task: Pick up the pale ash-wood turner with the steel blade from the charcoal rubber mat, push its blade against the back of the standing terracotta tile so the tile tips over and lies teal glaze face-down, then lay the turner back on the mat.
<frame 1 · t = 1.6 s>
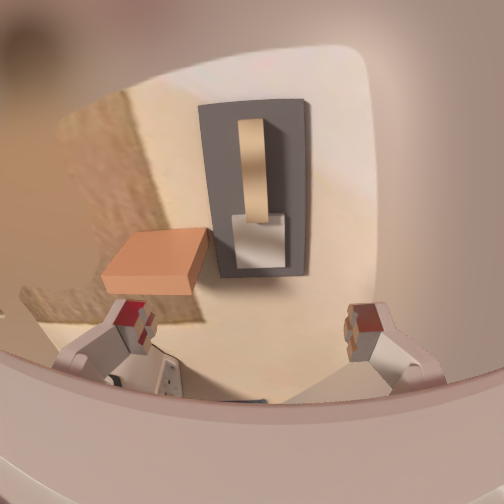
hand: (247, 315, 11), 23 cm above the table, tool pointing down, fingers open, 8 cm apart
tile: (170, 238, 36), on the table
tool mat: (257, 195, 33), on the table
turner: (257, 205, 33), point 1 cm above the table, touching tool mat
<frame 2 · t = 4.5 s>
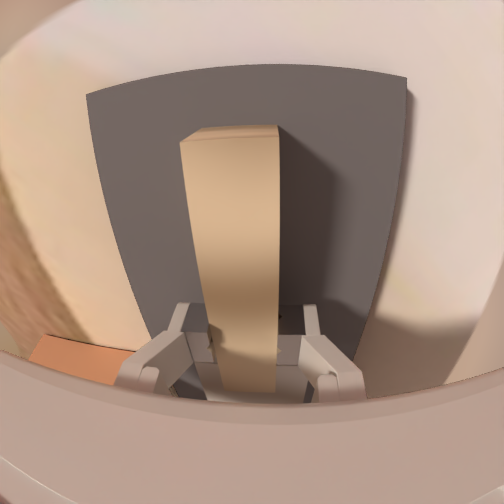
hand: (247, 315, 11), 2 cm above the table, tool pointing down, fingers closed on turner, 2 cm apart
tile: (96, 354, 17), on the table
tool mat: (252, 319, 14), on the table
turner: (252, 341, 14), point 1 cm above the table, touching gripper, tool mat
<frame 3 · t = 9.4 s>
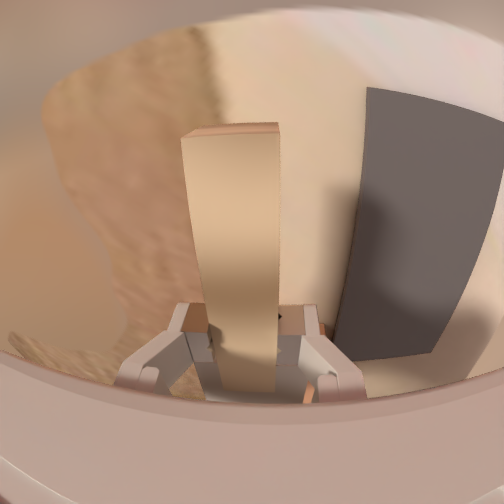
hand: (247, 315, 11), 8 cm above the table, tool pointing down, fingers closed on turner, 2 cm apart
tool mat: (419, 258, 18), on the table
turner: (251, 340, 14), point 6 cm above the table, touching gripper
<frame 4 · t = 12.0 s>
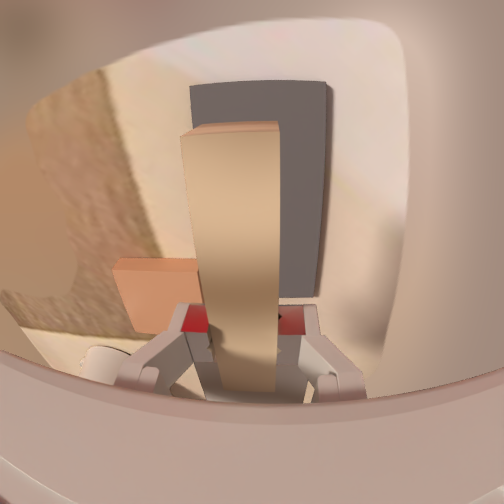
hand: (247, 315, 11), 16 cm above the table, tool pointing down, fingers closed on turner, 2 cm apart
tile: (154, 264, 29), point 1 cm above the table, tilted 90°
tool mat: (261, 201, 26), on the table
turner: (251, 340, 14), point 15 cm above the table, touching gripper
when the fingers open (3 cm above the table, at t = 14.4 s): turner drops 2 cm, resting on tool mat.
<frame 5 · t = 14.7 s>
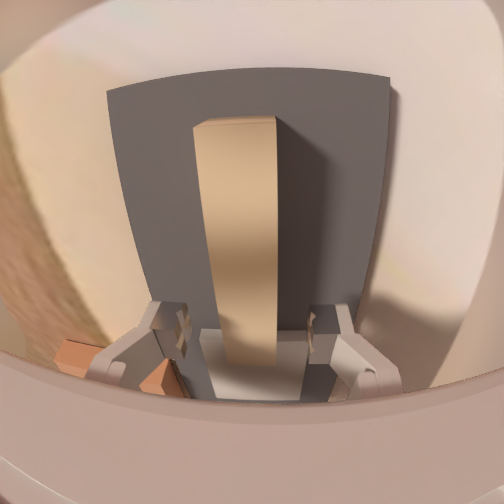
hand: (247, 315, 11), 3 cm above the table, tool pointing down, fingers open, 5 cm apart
tile: (105, 361, 18), point 1 cm above the table, tilted 90°
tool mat: (254, 298, 15), on the table
turner: (253, 317, 15), point 1 cm above the table, touching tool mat
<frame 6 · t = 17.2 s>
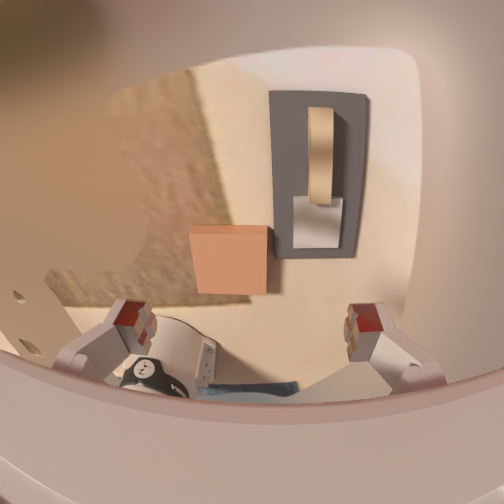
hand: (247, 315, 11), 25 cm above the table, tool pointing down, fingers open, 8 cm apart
tile: (228, 229, 37), point 1 cm above the table, tilted 90°
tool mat: (317, 180, 33), on the table
turner: (318, 188, 33), point 1 cm above the table, touching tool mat
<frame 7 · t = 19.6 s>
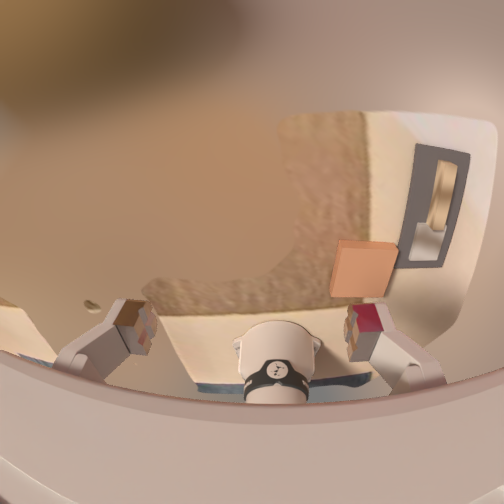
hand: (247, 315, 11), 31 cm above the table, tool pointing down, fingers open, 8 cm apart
tile: (369, 245, 43), point 1 cm above the table, tilted 90°
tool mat: (432, 211, 40), on the table
turner: (433, 217, 40), point 1 cm above the table, touching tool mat
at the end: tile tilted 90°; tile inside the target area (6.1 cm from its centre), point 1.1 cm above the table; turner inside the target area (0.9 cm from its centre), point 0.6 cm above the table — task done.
